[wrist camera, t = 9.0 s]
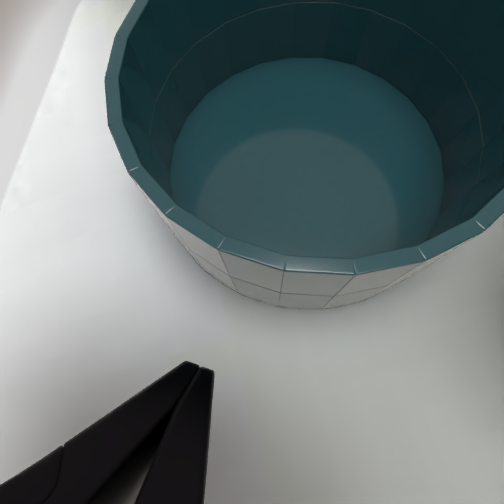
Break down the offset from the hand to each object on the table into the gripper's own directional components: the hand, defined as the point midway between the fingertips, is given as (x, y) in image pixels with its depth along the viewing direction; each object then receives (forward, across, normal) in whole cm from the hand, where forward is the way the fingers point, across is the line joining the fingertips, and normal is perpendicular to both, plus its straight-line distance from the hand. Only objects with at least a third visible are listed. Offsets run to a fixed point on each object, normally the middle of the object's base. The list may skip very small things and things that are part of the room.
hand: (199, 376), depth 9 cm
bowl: (+16, 0, -2) cm, 16 cm away
